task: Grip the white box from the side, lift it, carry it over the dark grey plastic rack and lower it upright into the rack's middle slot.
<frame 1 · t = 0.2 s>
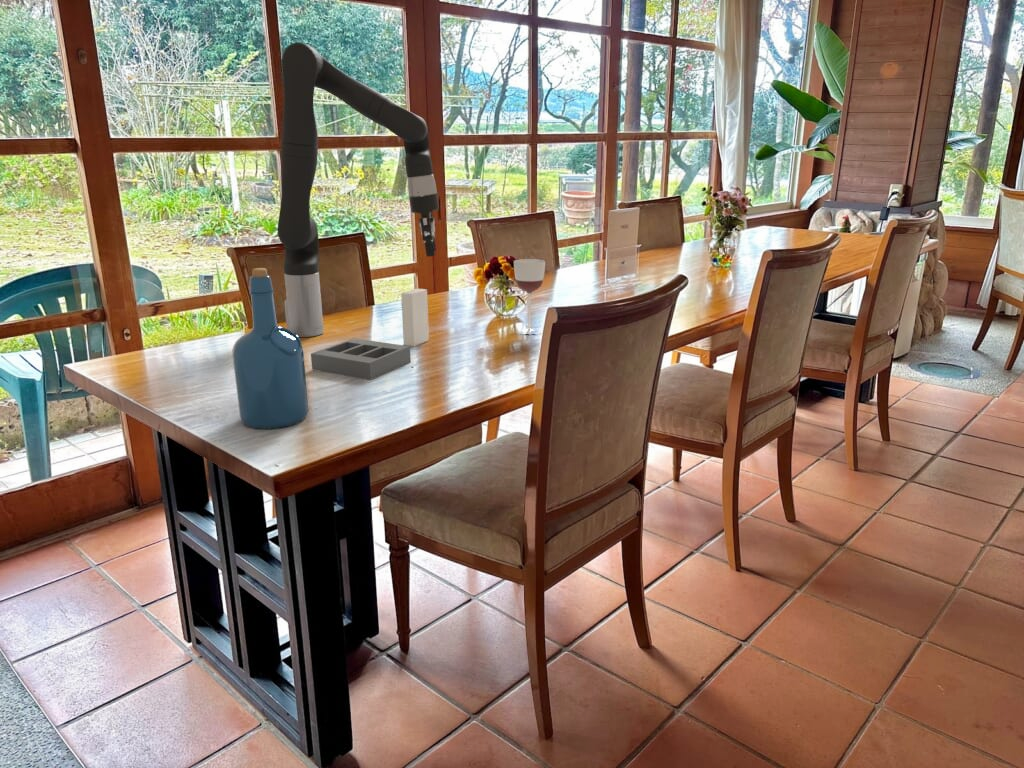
hand: (431, 253, 212), 22 cm above the table, tool pointing down, fingers open, 8 cm apart
rack: (362, 365, 189), on the table
wine bottle: (276, 420, 154), on the table
wineglass: (529, 332, 220), on the table
white box: (416, 342, 209), on the table
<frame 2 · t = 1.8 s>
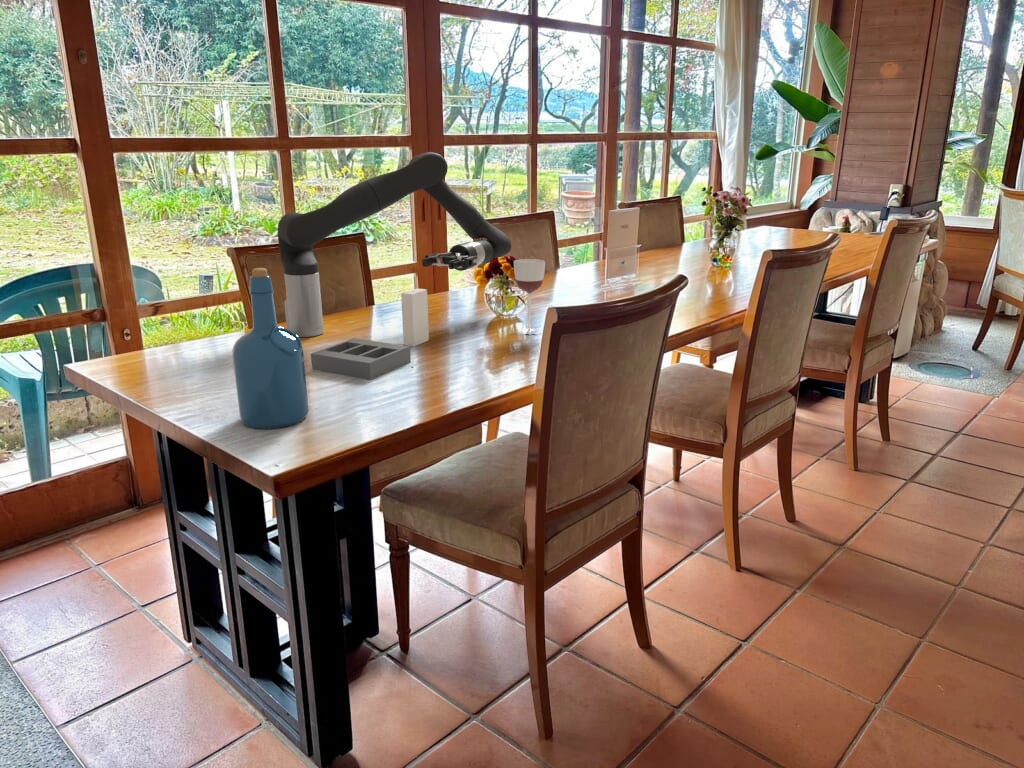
hand: (436, 264, 212), 19 cm above the table, tool horizontal, fingers open, 8 cm apart
nothing on the table moved.
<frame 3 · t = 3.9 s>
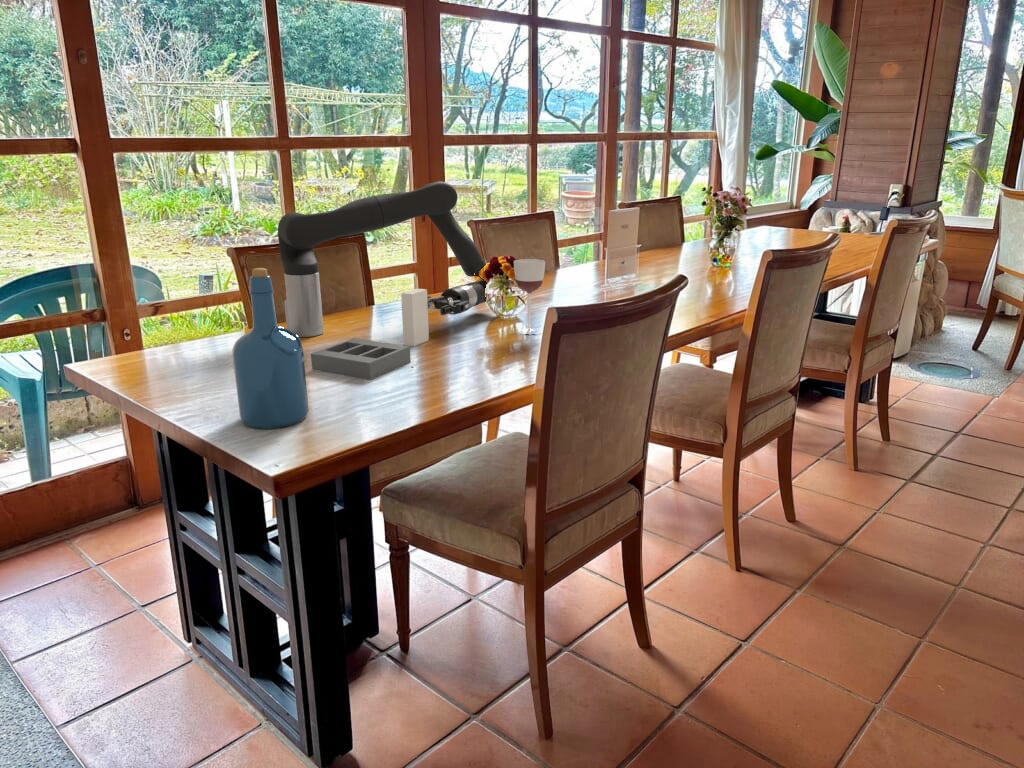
hand: (428, 309, 212), 8 cm above the table, tool horizontal, fingers open, 8 cm apart
nothing on the table moved.
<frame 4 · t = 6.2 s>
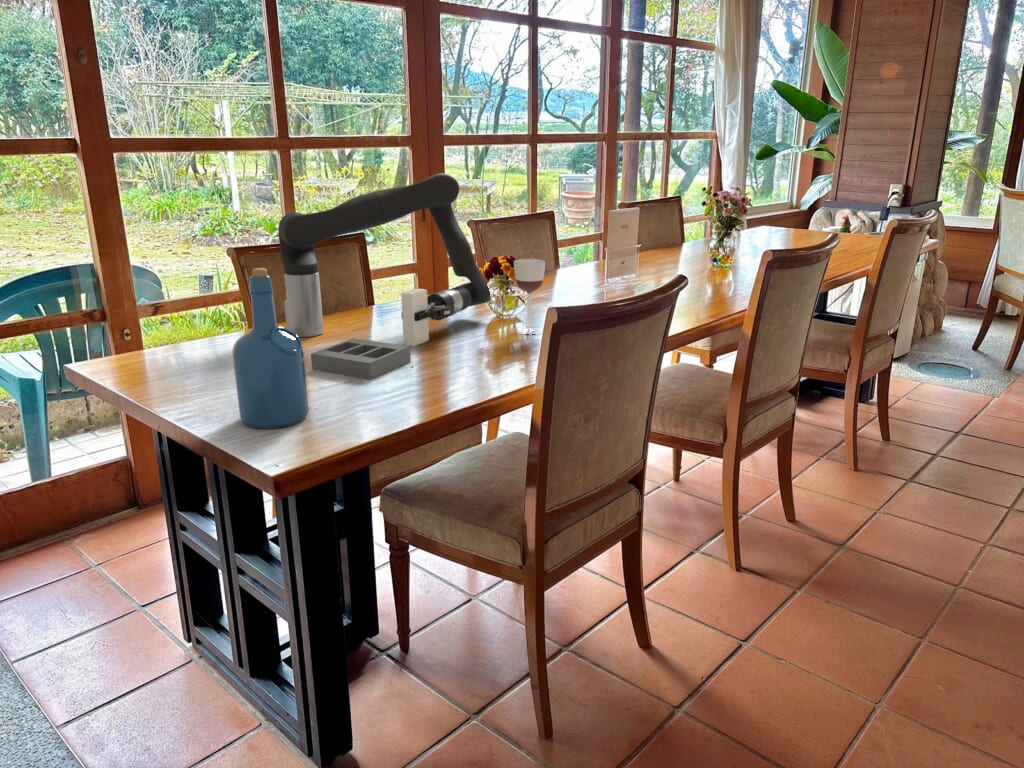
hand: (409, 316, 204), 8 cm above the table, tool horizontal, fingers closed on white box, 3 cm apart
white box: (416, 342, 209), on the table, touching gripper
everything else where it was.
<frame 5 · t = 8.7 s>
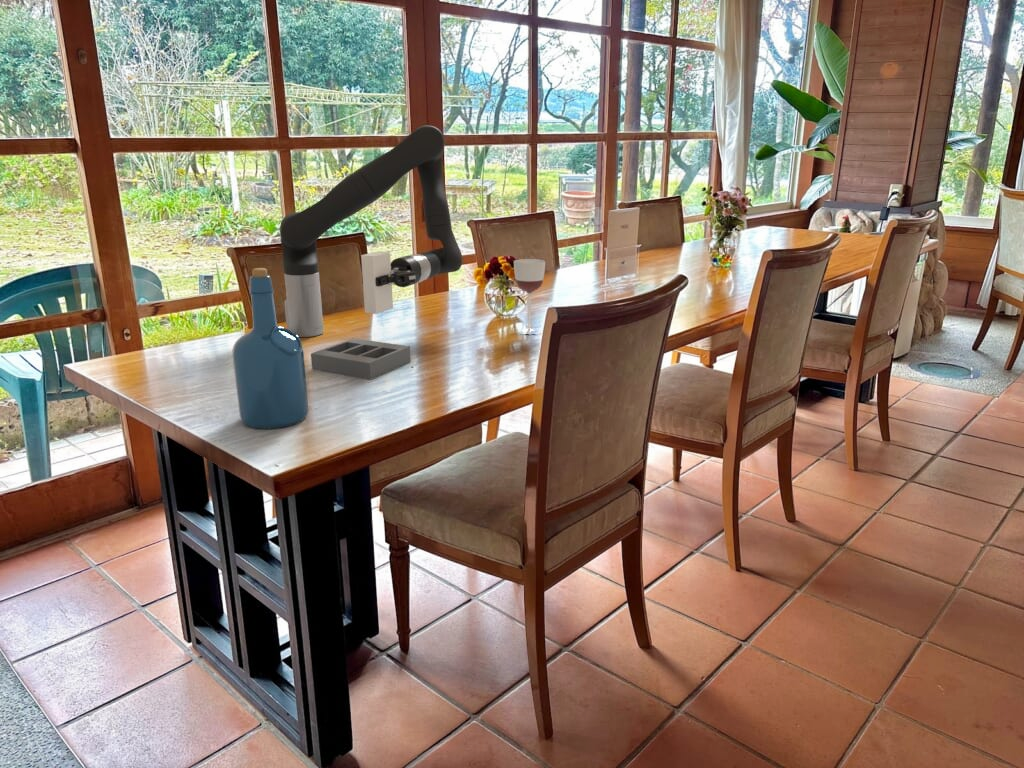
hand: (370, 281, 187), 20 cm above the table, tool horizontal, fingers closed on white box, 3 cm apart
white box: (379, 310, 192), point 12 cm above the table, touching gripper
everything else where it was.
when the fingers open (10 cm above the table, at t = 11.5 s): white box stays where it is, resting on rack.
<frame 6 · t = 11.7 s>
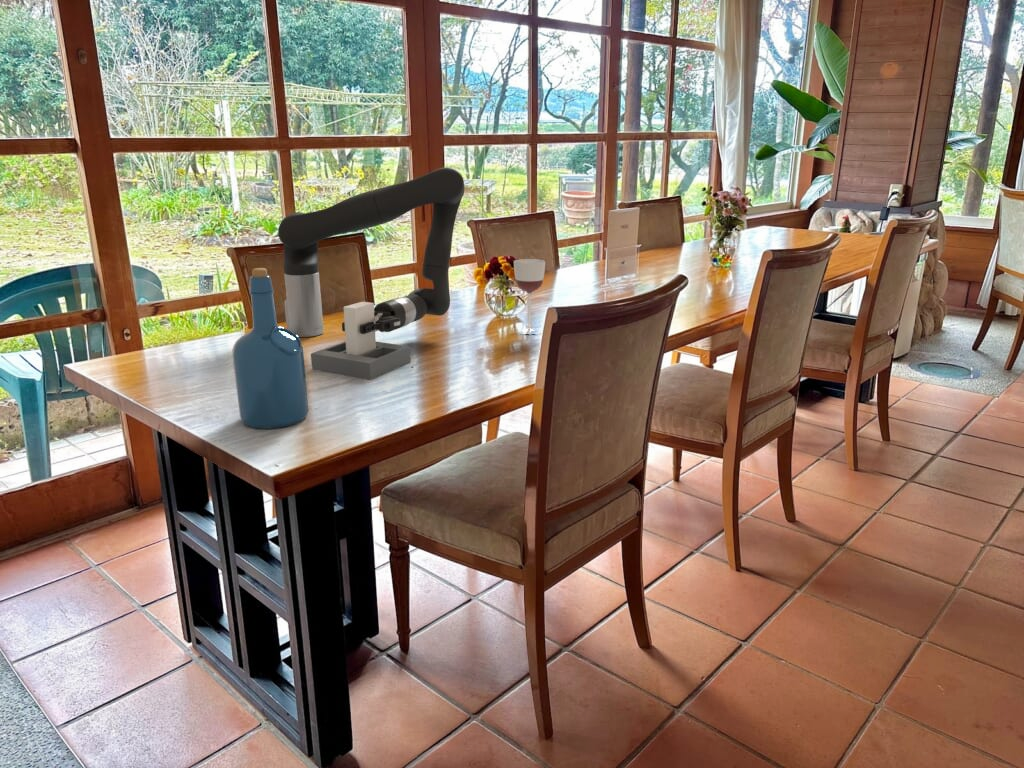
hand: (352, 328, 183), 10 cm above the table, tool horizontal, fingers open, 4 cm apart
white box: (361, 361, 188), point 1 cm above the table, touching rack
everything else where it was.
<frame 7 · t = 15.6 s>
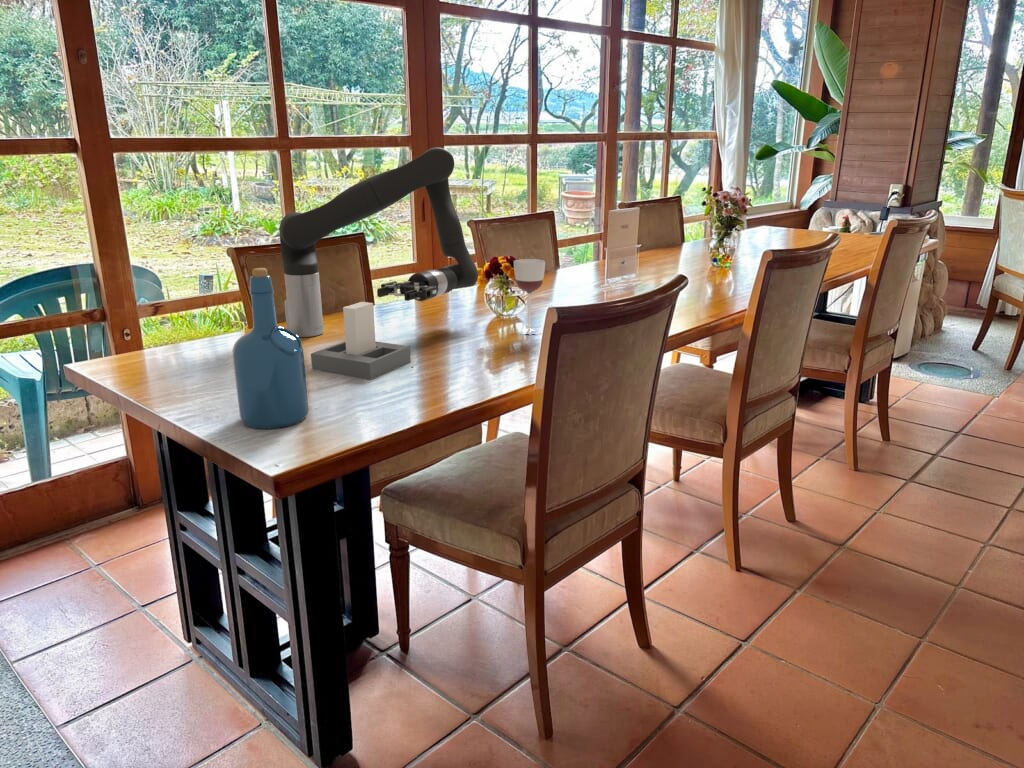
hand: (391, 294, 197), 15 cm above the table, tool horizontal, fingers open, 8 cm apart
nothing on the table moved.
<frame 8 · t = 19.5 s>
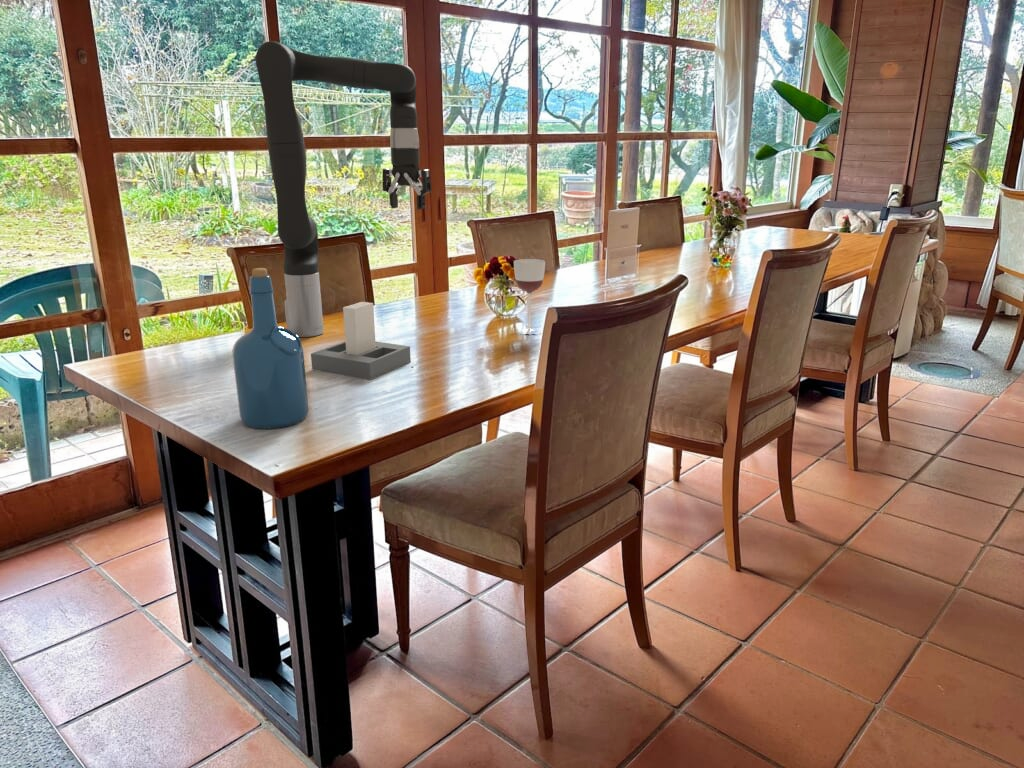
hand: (407, 208, 210), 34 cm above the table, tool pointing down, fingers open, 8 cm apart
nothing on the table moved.
at the end: white box 0.0 cm off-centre on the rack, point 1.0 cm above the rack's base; white box tilted 0°; the gripper is holding nothing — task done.
